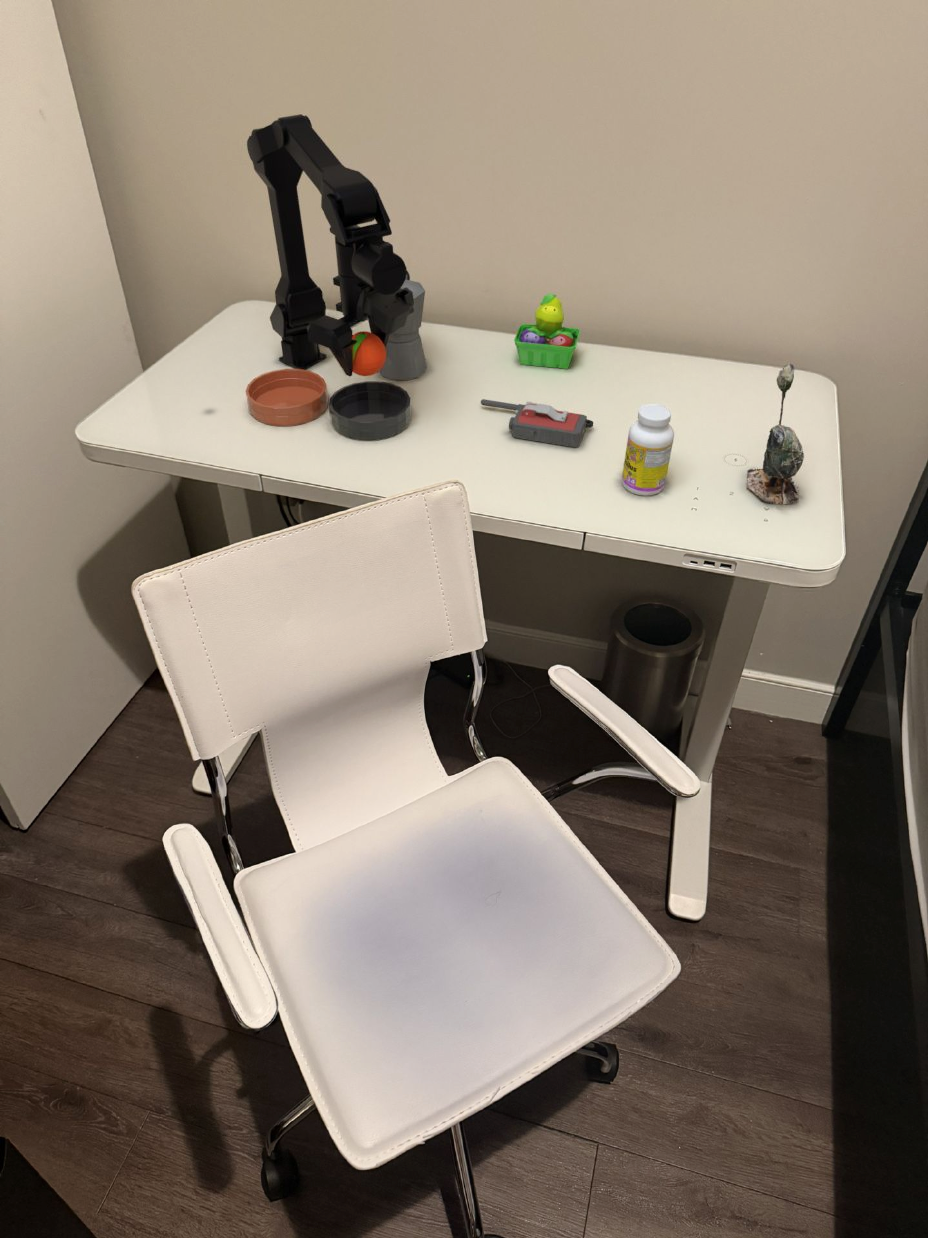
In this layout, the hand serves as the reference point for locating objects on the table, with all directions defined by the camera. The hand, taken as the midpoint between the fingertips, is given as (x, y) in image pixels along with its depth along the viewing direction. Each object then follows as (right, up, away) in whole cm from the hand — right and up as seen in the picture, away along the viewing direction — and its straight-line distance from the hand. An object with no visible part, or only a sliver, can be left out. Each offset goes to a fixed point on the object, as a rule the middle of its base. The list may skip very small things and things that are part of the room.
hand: (364, 365), depth 145 cm
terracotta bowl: (-14, -4, +10) cm, 18 cm away
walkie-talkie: (+28, -9, +5) cm, 29 cm away
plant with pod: (+63, -22, -9) cm, 67 cm away
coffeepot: (+5, +6, +21) cm, 22 cm away
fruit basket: (+32, +8, +23) cm, 40 cm away
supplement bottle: (+44, -21, -7) cm, 49 cm away
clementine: (0, -1, +1) cm, 2 cm away
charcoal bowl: (0, -7, +7) cm, 10 cm away
